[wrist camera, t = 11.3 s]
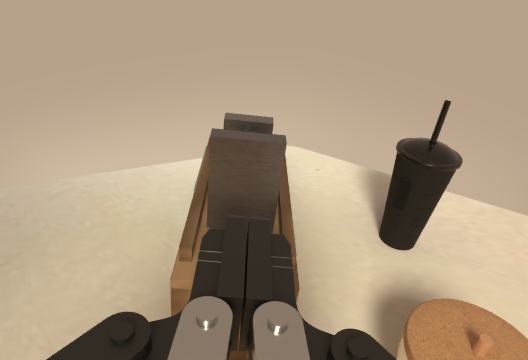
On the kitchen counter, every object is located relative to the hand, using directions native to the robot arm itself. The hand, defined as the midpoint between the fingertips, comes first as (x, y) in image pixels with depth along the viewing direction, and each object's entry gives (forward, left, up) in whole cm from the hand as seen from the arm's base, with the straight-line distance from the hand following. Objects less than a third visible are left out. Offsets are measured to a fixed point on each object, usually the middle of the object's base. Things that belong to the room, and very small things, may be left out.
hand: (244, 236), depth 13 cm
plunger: (0, +26, -13) cm, 29 cm away
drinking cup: (+22, +31, -24) cm, 45 cm away
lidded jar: (+19, +8, -24) cm, 32 cm away
